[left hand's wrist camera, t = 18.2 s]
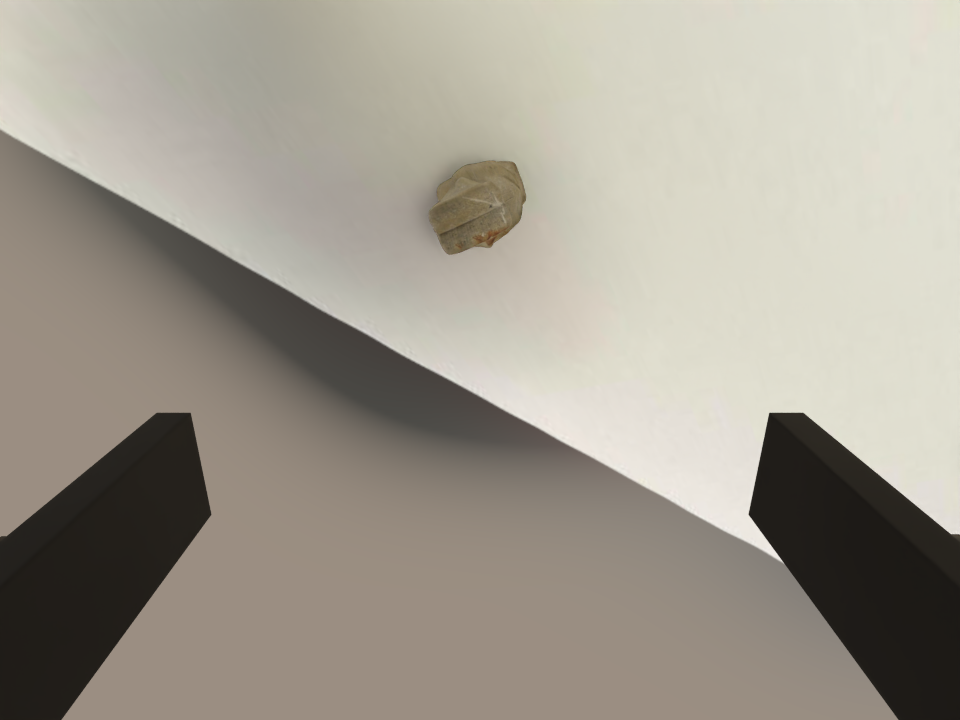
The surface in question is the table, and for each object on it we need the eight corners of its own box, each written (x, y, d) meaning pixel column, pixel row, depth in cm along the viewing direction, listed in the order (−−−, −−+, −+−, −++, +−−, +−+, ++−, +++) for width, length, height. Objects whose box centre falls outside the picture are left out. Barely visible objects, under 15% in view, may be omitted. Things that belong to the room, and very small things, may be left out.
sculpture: (430, 175, 49) (410, 188, 35) (509, 146, 48) (521, 146, 34) (454, 239, 51) (444, 275, 37) (530, 212, 50) (549, 238, 36)
